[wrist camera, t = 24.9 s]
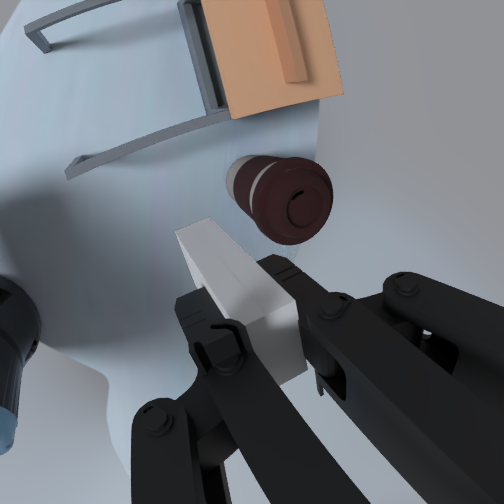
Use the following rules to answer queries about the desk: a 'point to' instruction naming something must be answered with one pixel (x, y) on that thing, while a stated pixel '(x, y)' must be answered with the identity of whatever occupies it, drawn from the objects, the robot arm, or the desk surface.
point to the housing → (203, 68)
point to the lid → (272, 53)
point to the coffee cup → (282, 195)
